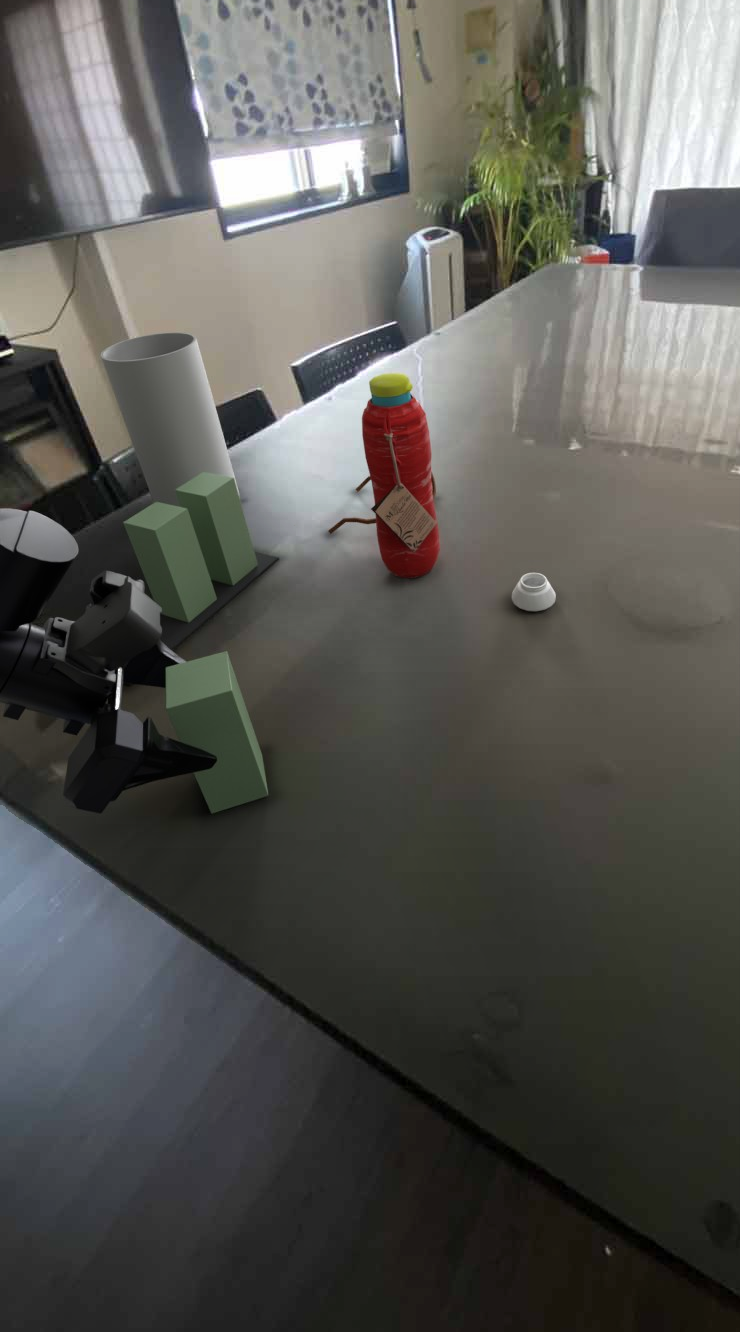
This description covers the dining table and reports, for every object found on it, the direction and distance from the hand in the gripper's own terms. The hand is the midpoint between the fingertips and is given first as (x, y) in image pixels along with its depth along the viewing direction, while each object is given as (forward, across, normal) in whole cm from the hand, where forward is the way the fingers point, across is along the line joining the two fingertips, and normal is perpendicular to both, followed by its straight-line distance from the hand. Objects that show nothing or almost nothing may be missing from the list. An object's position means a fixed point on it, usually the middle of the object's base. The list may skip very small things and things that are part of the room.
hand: (211, 721), depth 57 cm
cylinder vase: (+6, +56, +6) cm, 57 cm away
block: (+6, 0, +6) cm, 8 cm away
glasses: (+24, +41, -12) cm, 49 cm away
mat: (+4, +30, +8) cm, 31 cm away
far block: (+7, +35, +4) cm, 36 cm away
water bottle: (+23, +25, -11) cm, 36 cm away
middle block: (+3, +30, +8) cm, 31 cm away
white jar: (+31, +13, -19) cm, 39 cm away
